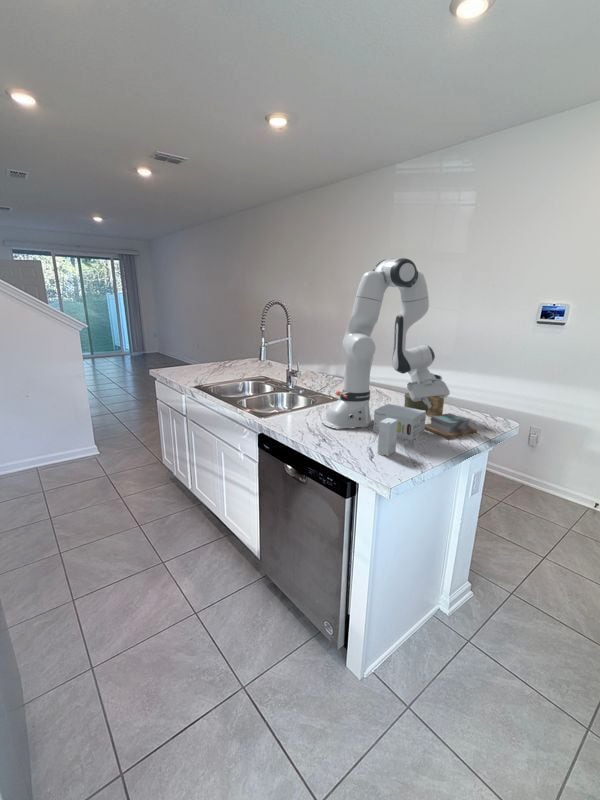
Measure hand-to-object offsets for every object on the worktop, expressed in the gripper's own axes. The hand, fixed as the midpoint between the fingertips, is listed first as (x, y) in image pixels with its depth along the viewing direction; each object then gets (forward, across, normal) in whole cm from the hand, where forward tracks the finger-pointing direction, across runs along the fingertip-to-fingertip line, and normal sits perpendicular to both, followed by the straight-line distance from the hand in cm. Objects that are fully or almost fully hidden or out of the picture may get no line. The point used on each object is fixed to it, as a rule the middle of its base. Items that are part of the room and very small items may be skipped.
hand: (436, 406), depth 164 cm
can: (-8, +4, +17) cm, 19 cm away
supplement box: (+8, -25, +1) cm, 26 cm away
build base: (+14, -6, -5) cm, 16 cm away
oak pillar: (+3, 0, +4) cm, 5 cm away
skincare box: (+20, -43, -10) cm, 48 cm away
